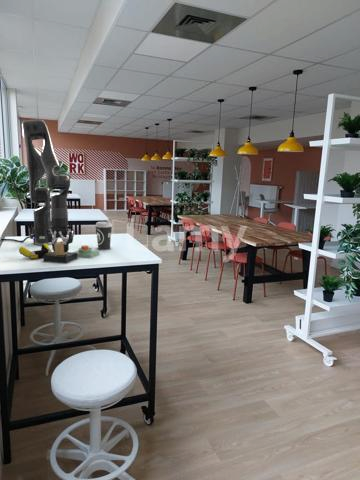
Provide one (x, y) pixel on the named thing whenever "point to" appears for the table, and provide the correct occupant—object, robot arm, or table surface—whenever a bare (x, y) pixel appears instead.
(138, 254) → the table surface
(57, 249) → the knob
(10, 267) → the table surface
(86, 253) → the button box
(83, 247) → the button
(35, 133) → the robot arm
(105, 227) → the coffee cup
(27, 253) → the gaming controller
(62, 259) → the panel
